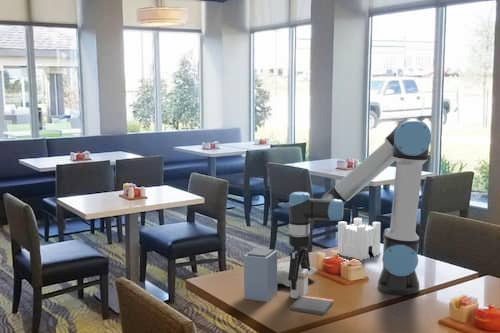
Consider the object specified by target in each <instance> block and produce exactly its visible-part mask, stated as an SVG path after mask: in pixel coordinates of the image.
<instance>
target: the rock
mask: <svg viewBox="0 0 500 333" xmlns="http://www.w3.org/2000/svg"><path fill="white" fill-rule="evenodd" d="M289 267H290V261H287V262H280V263H277V285H284V286H286V287H290V288H291V281H290V280H288V277H289ZM299 268H301V265H300V267H299ZM308 268H310V271H308V277H310V276H313V275H315V274H316V273H317V272H318V269H317V268H315V267H313V266H311V265H310V267H308Z"/></svg>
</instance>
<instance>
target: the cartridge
mask: <svg viewBox="0 0 500 333" xmlns="http://www.w3.org/2000/svg"><path fill="white" fill-rule="evenodd" d="M293 278H294V277H293ZM297 280H298V297H300V296H301V295H302V296H307V294H308V293H309V276H308V269H302V268H299V273H298V279H297Z"/></svg>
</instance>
